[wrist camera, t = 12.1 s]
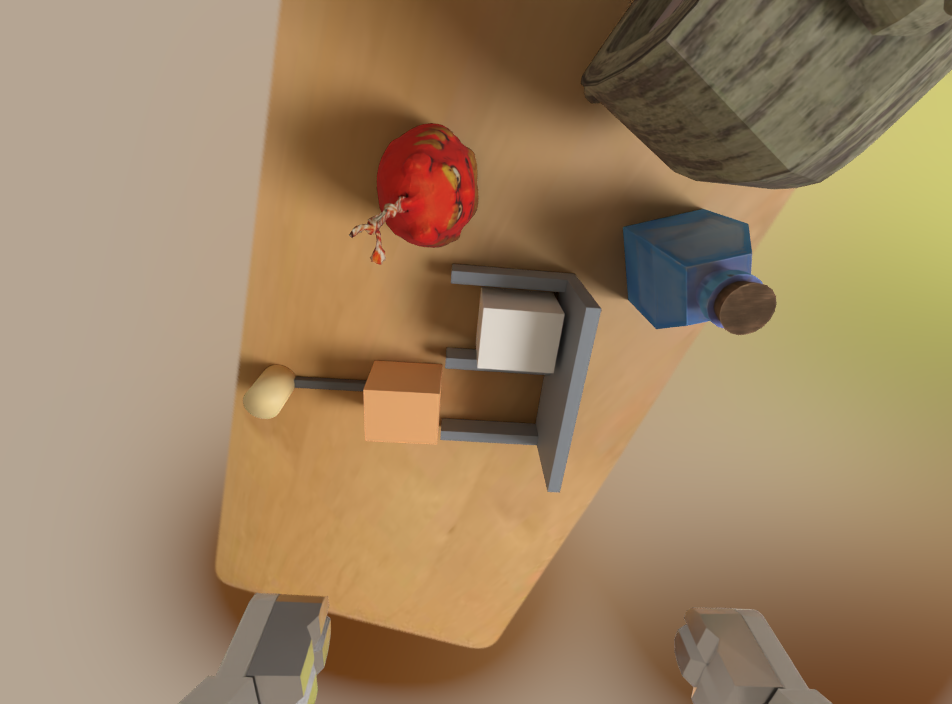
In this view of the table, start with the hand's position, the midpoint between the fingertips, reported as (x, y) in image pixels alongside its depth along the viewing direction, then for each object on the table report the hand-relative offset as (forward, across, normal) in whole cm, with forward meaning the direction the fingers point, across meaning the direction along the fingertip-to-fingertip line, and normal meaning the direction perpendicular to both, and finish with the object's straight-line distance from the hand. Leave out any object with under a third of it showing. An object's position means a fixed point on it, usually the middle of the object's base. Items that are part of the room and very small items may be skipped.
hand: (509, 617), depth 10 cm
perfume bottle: (+29, -15, -2) cm, 33 cm away
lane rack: (+29, -3, +8) cm, 30 cm away
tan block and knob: (+29, +10, +12) cm, 33 cm away
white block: (+29, -4, +4) cm, 30 cm away
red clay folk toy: (+29, +4, -6) cm, 30 cm away
